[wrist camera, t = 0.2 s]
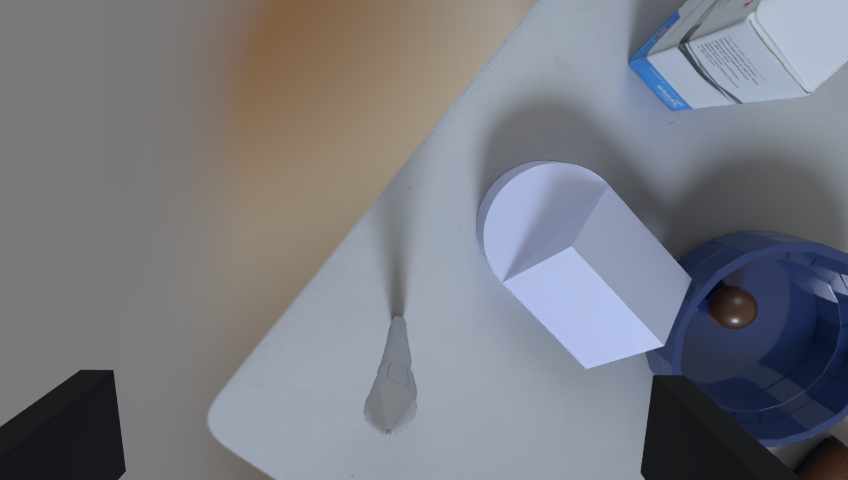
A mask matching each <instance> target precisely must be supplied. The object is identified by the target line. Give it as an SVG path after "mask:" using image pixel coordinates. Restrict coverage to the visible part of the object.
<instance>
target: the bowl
mask: <svg viewBox="0 0 848 480" xmlns="http://www.w3.org/2000/svg"><path fill="white" fill-rule="evenodd" d="M678 264H679V265H680V266H681V267H682V268H683V269H684V271H685V272H686V273H687V274H688V275H689V276H690V277H691V278H692V279H691V282H690V284H689V287H688V289H687V292H686V294H685V297H684V299H683V301H682V304H681V306H680V309H679V311H678V314H677V316H676V318H675V321H674V323H673V326H672V328H671V331H670V333H669V336H668V338H667V340H666V343H665V345H664V346H662V347H659V348H656V349H652V350H649V351H646V354H647V358H648V363H649V367H650V369H651V371H652V372H653V374H654V375H684V376H685V377H687V378H688V379H689V380H690V381H691V382H692V383H693V384H694V385H696V386H697V387H698V388H699V389H700V390H701V391H702V392H703V393H705V394H706V395H707V396H708V397H709V398H710V399H711V400H712V401H714V402H715V403H716V404H717V405H718V406H719V407H720V408H721V409H723V410H724V411H725V412H726V413H727V414H728V415H729V416H730V417H732V418H733V419H734V420H735V421H736V422H737V423H738V424H739V425H741V426H742V427H743V428H744V429H745V430H746V431H747V432H748V433H750V434H751V435H752V436H753V437H754V438H755V439H756V440H757V441H759V442H760V443H761V444H762V445H763V446H764V447H781V446H785V445H788V444H792V443H796V442H799V441H803V440H806V439H810V438H813V437H815V436H816V435H818V434H820V433H821V432H823V431H825V430H827V429H828V428H830V427H832V426H833V425H835V424H837V423H839V422H840V421H842V420H843V419H844V418H845V417H846V416H847V415H848V254H847V253H845V252H842V251H839V250H836V249H834V248H831V247H828V246H825V245H823V244H820V243H816V242H812V241H809V240H805V239H801V238H797V237H793V236H789V235H785V234H781V233H777V232H772V231H739V232H736V233H733V234H729V235H726V236H722V237H719V238H716V239H712V240H710V241H708V242H706V243H705V244H703V245H702V246H700V247H699V248H697V249H696V250H694V251H692V252H691V253H689V254H688V255H686V256H685V257H683V258H682V259H681V260H680V261H679V262H678ZM723 286H738V287H741V288H744V289H745V290H747V291H749V292H750V293H751V294H752V295H753V296H754V298H755V299H756V301H757V304H758V314H757V317H756V319H755V320H754V321H753V323H751V324H750V325H749V326H747V327H745V328H742V329H736V330H733V329H726V328H723V327H721V326H719V325H717V324H716V323H715V322H714V321H713V320H712V319H711V318H710V316H709V314H708V312H707V300H708V298H709V296H710V294H711V293H712V292H713V291H715V290H716V289H718V288H720V287H723Z"/></svg>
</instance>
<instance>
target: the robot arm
mask: <svg viewBox="0 0 848 480" xmlns="http://www.w3.org/2000/svg"><path fill="white" fill-rule="evenodd" d="M125 471H126V468H125V461H124V453H123V445H122V437H121V428H120V420H119V412H118V404H117V396H116V389H115V380H114V372H113V370H80V371H78V372H77V373H76V374H74V375H73V376H71V377H70V378H69V379H67V380H66V381H64V382H63V383H62V384H60V385H59V386H57V387H56V388H54V389H53V390H52V391H50V392H49V393H47V394H46V395H45V396H43V397H42V398H40V399H39V400H38V401H36V402H35V403H33V404H32V405H31V406H29V407H28V408H26V409H25V410H24V411H22V412H21V413H19V414H18V415H17V416H15V417H14V418H12V419H11V420H9V421H8V422H7V423H5V424H4V425H3V426H1V427H0V480H118V479H119V478H120V477H121V476H122V475H123V474H124V472H125ZM641 474H642V476H643V477H644V479H645V480H801V479H800V478H799V477H798V476H797V475H796V474H795V473H793V472H792V471H791V470H790V469H789V468H788V467H787V466H786V465H784V464H783V463H782V462H781V461H780V460H779V459H778V458H777V457H775V456H774V455H773V454H772V453H771V452H770V451H769V450H768V449H766V448H765V447H764V446H763V445H762V444H761V443H760V442H759V441H757V440H756V439H755V438H754V437H753V436H752V435H751V434H750V433H748V432H747V431H746V430H745V429H744V428H743V427H742V426H741V425H739V424H738V423H737V422H736V421H735V420H734V419H733V418H732V417H730V416H729V415H728V414H727V413H726V412H725V411H724V410H723V409H721V408H720V407H719V406H718V405H717V404H716V403H715V402H714V401H712V400H711V399H710V398H709V397H708V396H707V395H706V394H705V393H703V392H702V391H701V390H700V389H699V388H698V387H697V386H696V385H694V384H693V383H692V382H691V381H690V380H689V379H688V378H687V377H685V376H684V375H653V383H652V390H651V398H650V405H649V413H648V420H647V428H646V435H645V443H644V450H643V458H642V465H641Z"/></svg>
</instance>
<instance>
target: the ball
mask: <svg viewBox="0 0 848 480" xmlns="http://www.w3.org/2000/svg"><path fill="white" fill-rule="evenodd" d="M707 312H708V314H709V316H710V318H711V319H712V320H713V321H714V322H715V323H716V324H717V325H719V326H721V327H723V328H726V329H733V330H736V329H742V328H745V327H747V326H749V325H750V324H751V323H753V321H754V320H755V319H756V317H757V314H758V304H757V301H756V299H755V298H754V296H753V295H752V294H751V293H750V292H749V291H747V290H745V289H744V288H741V287H738V286H723V287H720V288H718V289H716V290H715V291H713V292H712V293H711V294H710V296H709V298H708V300H707Z"/></svg>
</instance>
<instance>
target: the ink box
mask: <svg viewBox="0 0 848 480" xmlns="http://www.w3.org/2000/svg"><path fill="white" fill-rule="evenodd" d="M847 61H848V0H687V1H686V2H685V3H684V4H683V5H682V6H681V7H680V8H679V9H678V10H677V11H676V12H675V13H674V14H673V15H672V16H671V17H670V18H669V19H668V20H667V21H666V22H665V23H664V24H663V25H662V26H661V27H660V28H659V29H658V30H657V31H656V32H655V34H654V35H653V36H652V37H651V38H650V39H649V40H648V41H647V42H646V43H645V44H644V45H643V46H642V47H641V48H640V49H639V50H638V51H637V52H636V53H635V54H634V55H633V56H632V57H631V58H630V59H629V61H628V63H629V65H630V66H631V68H632V69H633V70H634V71H635V72H636V73H637V74H638V75H639V76H640V78H641V79H642V80H643V81H644V82H645V83H646V84H647V85H648V86H649V87H650V88H651V90H652V91H653V92H654V93H655V94H656V95H657V96H658V97H659V98H660V99H661V100H662V101H663V102H664V103H665V104H666V105H667V106H668V107H669V108H670V109H671V110H672V111H679V110H687V109H697V108H704V107H713V106H723V105H732V104H741V103H749V102H758V101H768V100H777V99H786V98H795V97H805V96H809V95H811V94H812V93H813V92H814V91H815V90H816V89H817V88H818V87H819V86H820V85H821V84H822V83H824V82H825V81H826V80H827V79H828V78H829V77H830V76H831V75H832V74H833V73H835V72H836V71H837V70H838V69H839V68H840V67H841V66H842V65H843V64H844V63H845V62H847Z"/></svg>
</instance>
